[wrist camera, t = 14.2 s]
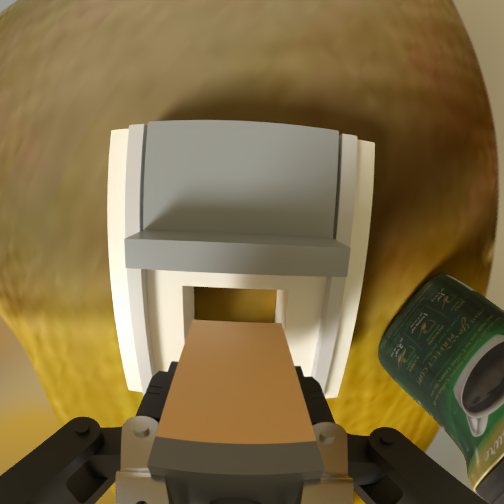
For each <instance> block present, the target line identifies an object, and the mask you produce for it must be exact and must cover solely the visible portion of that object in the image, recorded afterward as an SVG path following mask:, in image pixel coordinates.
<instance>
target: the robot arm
mask: <svg viewBox="0 0 504 504" xmlns="http://www.w3.org/2000/svg"><path fill="white" fill-rule="evenodd" d="M177 365H178V362H177V361H172V362H171V364H170V366H169V369H168V372H165V371H159V372H157V373H156V374H155V375H154V376H153V377H152V378H151V380H150V383H149V385H148V387H147V390H146V393H145V394H144V397H143V399H142V402H141V404H140V407H139V409H138V412H137V414H136V416H135V417H132V418H130V419H128V420H127V421H126V422H125V423H124V424H123V426H122V427H115V428H100V426H99V424H98V423H97V422H96V421H95V420H94V419H92V418H89V417H77V418H74V419H72V420H71V421H69V422H68V423H67V424H66V425H64V426H63V427H62V428H61V429H59V430H58V431H57V432H56V433H55V434H53V435H52V436H51V437H49V438H48V439H47V440H46V441H44V442H43V443H42V444H41V445H39V446H38V447H37V448H36V449H34V450H33V451H32V452H31V453H29V454H28V455H27V456H25V457H24V458H23V459H22V460H20V461H19V462H18V463H16V464H15V465H14V466H13V467H11V468H10V469H9V470H7V471H6V472H5V473H4V474H2V475H1V476H0V504H95V503H96V501H97V500H98V499H99V498H100V497H101V496H102V495H103V494H104V493H105V492H106V491H107V490H108V488H109V487H110V486H111V485H112V484H113V483H114V482H115V488H116V504H174V501H173V498H172V496H171V493H170V490H169V487H168V485H167V482H166V479H165V476H160V475H152V474H150V472H149V469H148V467H147V463H148V460H149V456H150V453H151V449H152V446H153V442H154V439H155V436H156V432H157V429H158V426H159V422H160V419H161V416H162V412H163V409H164V406H165V403H166V399H167V396H168V393H169V390H170V387H171V384H172V380H173V377H174V374H175V371H176V368H177ZM295 370H296V373H297V376H298V380H299V383H300V386H301V390H302V393H303V396H304V400H305V403H306V406H307V410H308V413H309V417H310V420H311V423H312V427H313V430H314V434H315V437H316V440H317V444H318V447H319V451H320V454H321V458H322V461H323V464H324V468H325V471H324V473H323V475H322V477H321V479H310V480H304V482H303V485H302V487H301V490H300V492H299V494H298V497H297V499H296V501H295V504H354V491H355V492H356V493H357V494H358V495H359V496H360V498H361V499H362V500H363V501H364V502H365V503H366V504H489V503H487V502H486V501H484V500H483V499H482V498H480V497H479V496H478V495H477V494H475V493H474V492H473V491H471V490H470V489H469V488H467V487H466V486H465V485H464V484H462V483H461V482H460V481H458V480H457V479H456V478H455V477H454V476H452V475H451V474H450V473H448V472H447V471H446V470H445V469H444V468H442V467H441V466H439V464H437V463H436V462H435V461H434V460H432V459H431V458H430V457H429V456H428V455H426V454H425V453H424V452H423V451H422V450H420V449H419V448H418V447H417V446H416V445H414V444H413V443H412V442H411V441H410V440H409V439H407V438H406V437H405V436H404V435H403V434H401V433H400V432H399V431H398V430H396V429H393V428H389V427H381V428H378V429H375V430H374V431H373V432H372V433H371V434H370V436H359V435H351V434H348V433H346V431H345V430H344V428H343V427H341V426H340V425H338V424H335V422H334V419H333V417H332V414H331V411H330V409H329V406H328V404H327V401H326V400H325V396H324V393H323V391H322V388H321V386H320V383H319V382H318V381H317V380H315V379H314V378H313V377H312V376H311V377H304V375H303V372H302V369H301V366H295Z"/></svg>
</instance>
